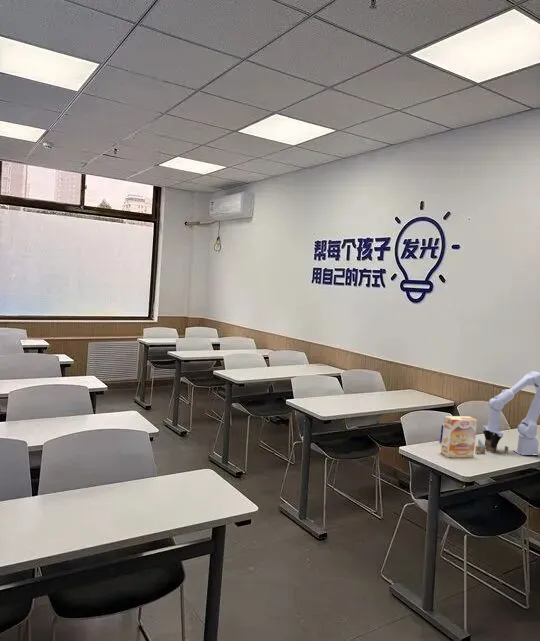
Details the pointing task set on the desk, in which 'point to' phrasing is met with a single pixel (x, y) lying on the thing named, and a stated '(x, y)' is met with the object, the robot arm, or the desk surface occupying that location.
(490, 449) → the walnut block
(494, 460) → the desk surface
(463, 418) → the coffeecake box
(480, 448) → the oak door frame
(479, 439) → the slate-blue door
